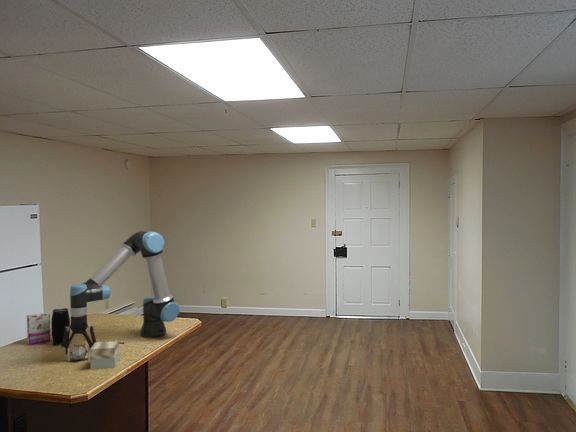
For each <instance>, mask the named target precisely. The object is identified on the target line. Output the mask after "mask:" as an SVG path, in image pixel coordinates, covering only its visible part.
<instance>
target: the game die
mask: <svg viewBox="0 0 576 432" xmlns="http://www.w3.org/2000/svg"><path fill="white" fill-rule="evenodd" d="M70 353H71V357H72V358H73V360H72V361H73V362H75V361H79V360H83V361H85V360H86V359H85V358H86V356H87V355H88V349H87V348H86V343H84V344H78V345H76V344H73V348H72V349H71V352H70Z"/></svg>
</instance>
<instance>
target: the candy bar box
mask: <svg viewBox="0 0 576 432" xmlns="http://www.w3.org/2000/svg"><path fill="white" fill-rule="evenodd" d="M26 327H27V328H26V329H27V330H26V332H27V338H26V339H27V345H28V346H34V345H35V346H36V345H40V344H45V343H49V342H51V315H50V312H42V313H35V314H29V315H28V314H27V315H26Z"/></svg>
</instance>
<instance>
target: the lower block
mask: <svg viewBox="0 0 576 432" xmlns="http://www.w3.org/2000/svg"><path fill="white" fill-rule="evenodd" d="M89 361H90V370H99V369H112V368H116V366H117V363H118V362H119V351H118V352H117V354H116V356H115V358H109V359H94V360H89Z"/></svg>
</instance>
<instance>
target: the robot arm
mask: <svg viewBox="0 0 576 432" xmlns="http://www.w3.org/2000/svg"><path fill="white" fill-rule="evenodd" d="M164 247H165V239H164V238H163V236H162V234H160V233H158V232H156V231H146V230H145V231H143V230H140V231H137V232H135V233H133V234H131V235H130V236H129V237H128V238H127V239H126V240H125V241H124V242H123V243H122V244H121V247H120V248H119V249H118V250H117V251H116V252H115V253H114V254H113V255H112V256H111V257H110V258H109V259H108V260H107V261H106V262H105V263H104V264H103V265H102V266H101V267H100V268H99V269H98V270H97V271H96V272H94V273H93V274H92V276H91V277H90V278H88V279H87V280H86V281H84V282H81V283H76V284H72V285H71V286H70V288H69V290H70V291H69V301H70V302H69V303H70V313H69V316H70V326H69V327H67V326H66V327H65V328H64V336H63V341H62V344H60V346H61V348H64V349H65V355H67V362H70V361H71V360H72V354H71V353H70V352H72V349H71V347H72V346H70V344H71V343H72V340H73V339H74V337H75V335H78V334H79V335H82V336H83V337H84V338H85V341H86V343H87V344H88V345H87V351H88V352H87V360H88V361H90V349H91V347H92V346H93V345H94V343H96V342H97V339H96V336H95V335H96V334H95V331H94V327H95V325H94V324H92V325H90V324H88V315H87V314H88V305H87V303H91V302H98V301H104V300H108V299H110V296H111V288H110V286H109V285H105V283H107V281H109V279H110V278H111V277H112V276H113V275H114V274H116V272H117V271H118V270H119V269H120V268H121V267H122V266H124V264H125V263H126V262H127V261H129V259H130V258H131V257H135V256H136V255H137V254H139V253H141V257H142V259H144V260H145V264H146V265H147V271H148V275H149V279H150V282H151V287H152V292H153V296H147V297H144V298H143V300H142V310H143V311H142V312H143V313H142V318H143V323H142V326H141V329H140V332H139V333H140V336H141V337H143V338H158V336H159V337H163V336H165V335H166V334H167V328H166V325H165V323H166V322H167V323H171V322H173V321H175V320H176V318H177V317H178V316H179V314H180V306H179V304H178V303H177V302H175V300H174V299H175V298H174V295H172V294H171V293H170V289H169V285H168V281H167V277H166V276H167V275H166V272H165V269H164V263H163V260H162V255H163V254H164V253H163V252H164V251H163V248H164ZM69 329H70V331H72V332H71V334H70V335H69V340H68V342H67V344H65V343H66V339H67V334H68V331H69ZM87 329H88V330H89V333H90V336H89V334H88V332H87ZM162 335H163V336H162ZM90 337H91V338H90Z"/></svg>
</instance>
